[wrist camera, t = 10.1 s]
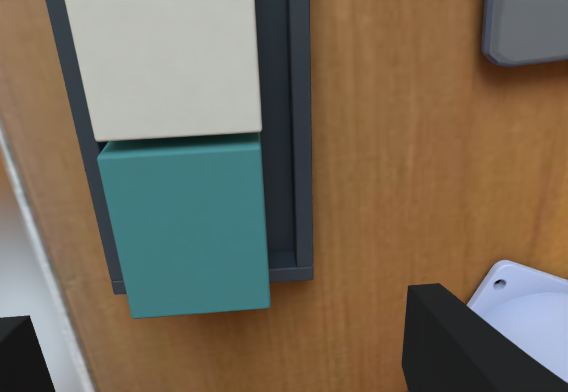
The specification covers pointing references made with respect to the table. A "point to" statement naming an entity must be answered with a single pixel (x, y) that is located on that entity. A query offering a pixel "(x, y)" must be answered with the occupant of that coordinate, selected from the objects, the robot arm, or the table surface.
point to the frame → (274, 135)
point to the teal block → (189, 223)
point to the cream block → (167, 67)
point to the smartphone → (525, 31)
